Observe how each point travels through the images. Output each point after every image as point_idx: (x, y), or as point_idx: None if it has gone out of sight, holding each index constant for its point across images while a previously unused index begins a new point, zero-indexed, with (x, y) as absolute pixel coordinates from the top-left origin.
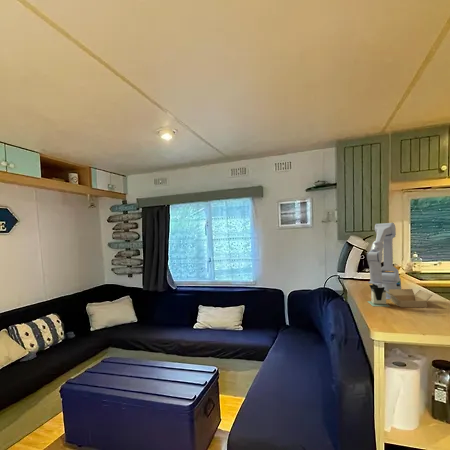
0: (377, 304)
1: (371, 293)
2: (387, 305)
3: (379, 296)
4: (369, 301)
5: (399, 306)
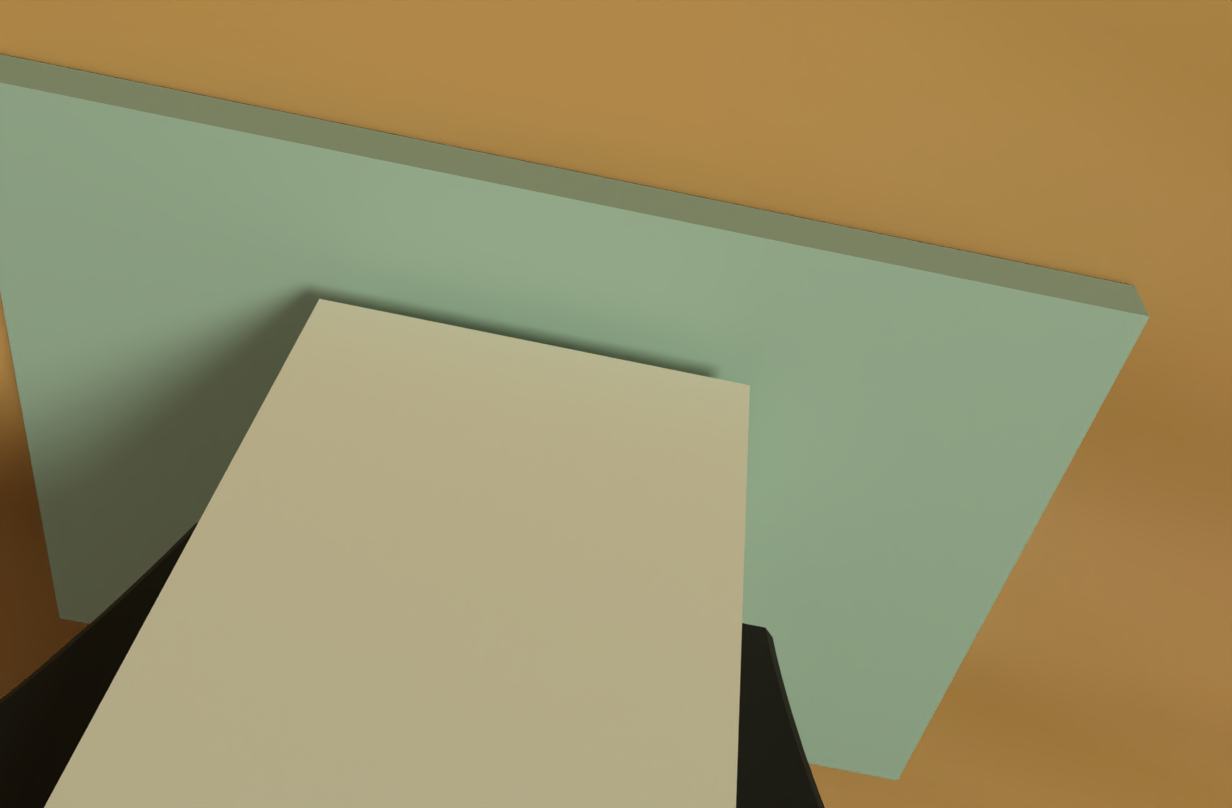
0: None
1: (708, 752)
2: None
3: None
4: (1039, 381)
5: None
